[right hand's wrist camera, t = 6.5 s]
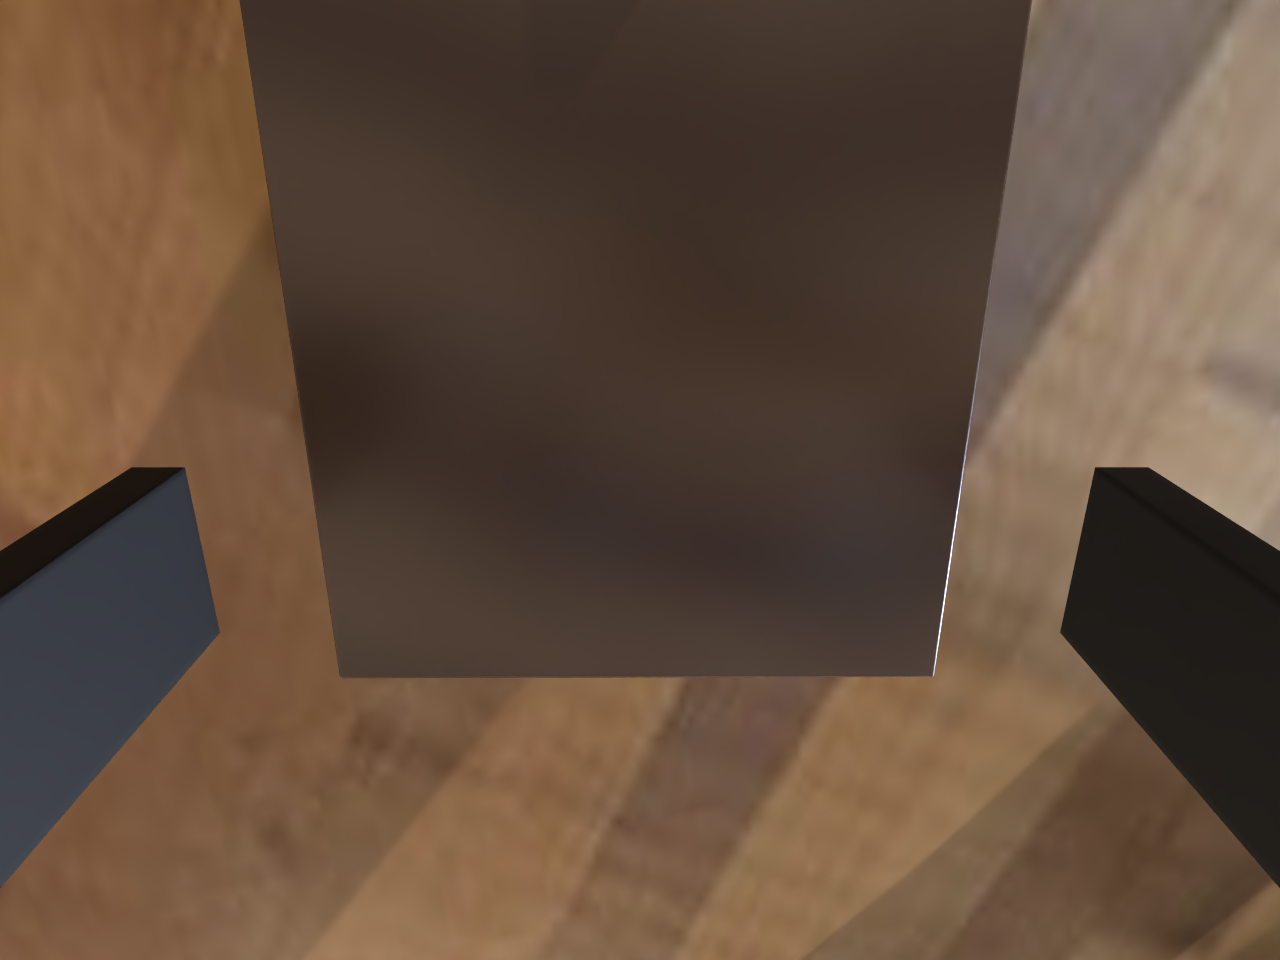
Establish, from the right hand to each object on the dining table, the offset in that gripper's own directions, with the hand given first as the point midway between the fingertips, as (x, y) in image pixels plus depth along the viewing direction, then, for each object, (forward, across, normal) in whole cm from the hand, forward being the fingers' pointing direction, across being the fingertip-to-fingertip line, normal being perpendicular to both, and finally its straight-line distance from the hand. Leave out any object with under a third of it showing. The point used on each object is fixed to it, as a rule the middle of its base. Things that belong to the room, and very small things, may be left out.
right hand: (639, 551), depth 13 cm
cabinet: (+13, 0, -6) cm, 15 cm away
